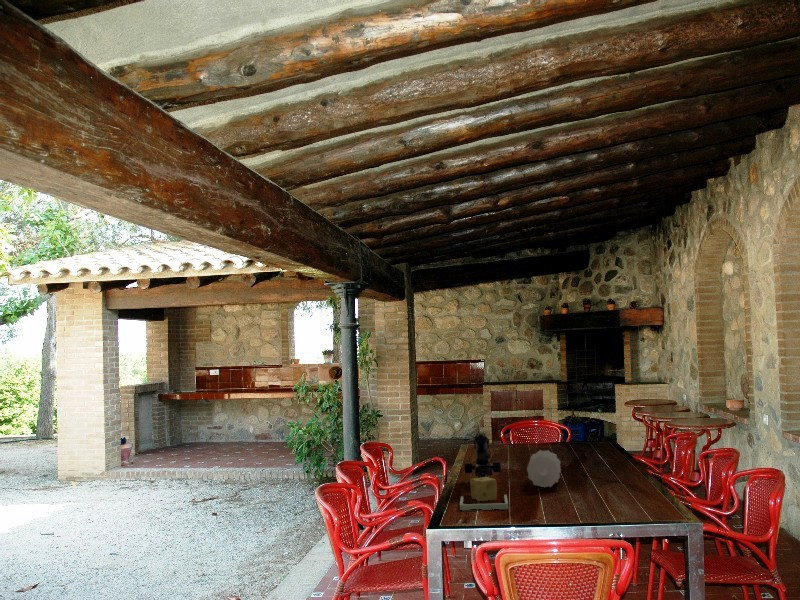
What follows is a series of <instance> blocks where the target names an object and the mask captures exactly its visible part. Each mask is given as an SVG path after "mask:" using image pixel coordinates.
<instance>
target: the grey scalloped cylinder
mask: <svg viewBox="0 0 800 600" xmlns="http://www.w3.org/2000/svg"><path fill="white" fill-rule="evenodd" d="M561 463H562V462H561V460H560V459H559V458H558V455H557V454H555V453H553V452H552V451H550V449H549V450H541V449H540V450H538V451H537V452H535V453H532V455H531V456H530V458H529V462H528V464H527V467H526V471H527V474H528V476H527V478H528V479H529V480H530V481H532V485H534V486H538V487H544V488H547V487H549V488H552V487H553V485H555V484H556V483H558V482H559V479H561V476H560V475H561V474H560V473H561V472H562V469H561Z"/></svg>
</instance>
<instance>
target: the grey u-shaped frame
mask: <svg viewBox="0 0 800 600" xmlns="http://www.w3.org/2000/svg"><path fill="white" fill-rule="evenodd" d="M507 495H508V494H504V497H503V499H504V503H503V502H502V503H501V502H500V503H499V502H498V503H497V502H496V503H470V504H466V503H463V502H465V501H464V495H461V496H460V501H459V511H460V510H462V511H471V510H470V509H482V510H481V511H488V510H489V511H491V510H492V509H493V510H494V509H499V510H509V501H508V496H507Z"/></svg>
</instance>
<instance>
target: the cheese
mask: <svg viewBox="0 0 800 600" xmlns="http://www.w3.org/2000/svg"><path fill="white" fill-rule="evenodd" d="M469 481H470V483H469V484H470V495H471V499H473V500H475V499H476V500H477V501H476V502H478V501H482V502H487V501H488V500H489V501H496V500H497V495H498V494H497V493H498V484H497V479H495V478H491V477H481V478H478V477H475V478H474V477H473V478H470V480H469ZM489 501H488V502H489Z"/></svg>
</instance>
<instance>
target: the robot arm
mask: <svg viewBox="0 0 800 600" xmlns="http://www.w3.org/2000/svg"><path fill="white" fill-rule="evenodd" d="M473 444H474V445H473V446H474V447H473V448H474V450H475V453H476V460H475V464H474V465H473V463H472V462H465V463H464V473H465V474H472V473H473V471H474V473H475V474H474V475H475V477H477V478H481V477H489V476H490V477H491V476H493V473H501V472H502V469H501V468H502V467H501V462H500V461H493V462H492V464H490V459H491V452H489V449H490V439H489V437H488V436H487V435H486V433H482V432H481V433H476V436H475V435H474V438H473ZM490 477H489V478H490Z"/></svg>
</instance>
